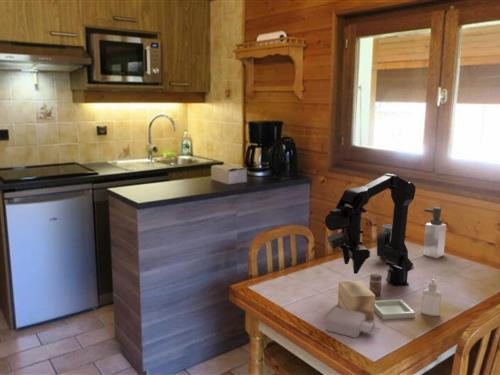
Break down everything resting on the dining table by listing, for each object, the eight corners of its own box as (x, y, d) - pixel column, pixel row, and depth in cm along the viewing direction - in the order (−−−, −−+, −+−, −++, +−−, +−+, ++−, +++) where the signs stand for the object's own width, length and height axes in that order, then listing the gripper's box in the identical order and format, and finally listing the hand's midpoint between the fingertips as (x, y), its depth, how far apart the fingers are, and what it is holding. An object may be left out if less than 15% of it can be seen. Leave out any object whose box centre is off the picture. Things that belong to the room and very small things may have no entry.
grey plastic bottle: (374, 344, 133) (325, 331, 140) (382, 331, 141) (336, 319, 148) (375, 329, 132) (326, 317, 140) (383, 317, 140) (336, 305, 147)
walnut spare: (377, 291, 169) (379, 273, 168) (382, 296, 165) (383, 277, 164) (367, 292, 169) (368, 274, 167) (371, 296, 165) (372, 278, 163)
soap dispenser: (425, 250, 215) (428, 204, 211) (443, 255, 209) (447, 208, 205) (418, 253, 211) (422, 206, 207) (436, 258, 205) (441, 210, 200)
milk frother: (384, 253, 210) (386, 222, 208) (419, 260, 201) (422, 228, 199) (373, 262, 199) (375, 229, 196) (409, 270, 190) (412, 236, 187)
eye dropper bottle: (434, 318, 149) (437, 283, 146) (418, 312, 153) (421, 278, 151) (441, 314, 151) (444, 280, 149) (426, 308, 156) (428, 275, 153)
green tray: (400, 304, 159) (400, 299, 159) (414, 317, 149) (415, 312, 149) (370, 305, 158) (370, 301, 157) (382, 319, 148) (382, 314, 148)
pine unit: (359, 301, 161) (360, 280, 159) (373, 318, 148) (375, 295, 147) (337, 303, 159) (338, 281, 158) (350, 320, 147) (351, 296, 146)
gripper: (322, 219, 167) (320, 260, 170) (338, 235, 149) (337, 280, 152) (351, 218, 168) (349, 259, 171) (371, 233, 150) (369, 278, 153)
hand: (350, 268), depth 162 cm, fingers open, 9 cm apart
